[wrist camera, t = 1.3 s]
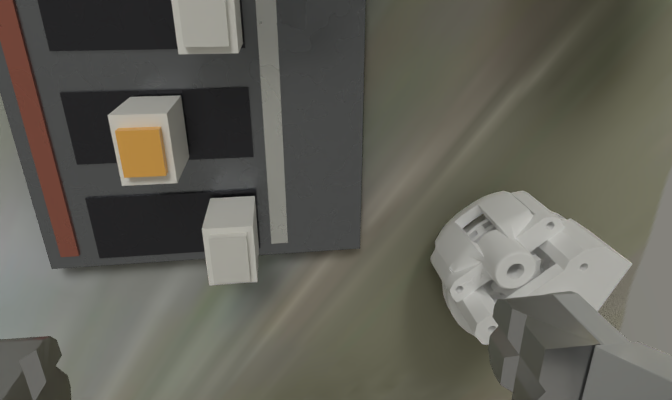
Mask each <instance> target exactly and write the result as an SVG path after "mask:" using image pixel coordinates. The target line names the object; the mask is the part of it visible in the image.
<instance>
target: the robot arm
mask: <svg viewBox="0 0 672 400" xmlns="http://www.w3.org/2000/svg"><path fill="white" fill-rule="evenodd" d="M493 318H494V320H495V321H496V323H497V324H498V327H497V328H496V329H495V330H494V331H493V333H492V334H491V335H490V338H489V348H488V351H489V358H490V364H491V367H492V370H493V372H494V375H495V377H496V378H497V380H498V382H499V383H500V385H502V386H503V387H505V388H507V389H508V390H510V391H511V392H513V395H512V400H672V355H669V354H667V353H665V352H662V351H660V350H658V349H655V348H653V347H650V346H648V345H646V344H643V343H641V342H630V341H629V340H627V338H625V337H624V336H623V335H622V334H621V333H620V332H619V331H618V330H617V329H616V328H615V327H614V326H612V325H611V324H610V323H609V322H608V321H607V320H606V319H605V318H604V317H603V316H602V315H601V314H600V313H598V312H597V311H596V310H595V309H594V308H593V307H592V306H591V305H590V304H589V303H588V302H587V301H586V300H584V299H583V298H582V297H581V296H580V295H579V294H578V293H575V292H572V291H566V292H557V293H548V294H546V295H536V296H525V297H514V298H504V299H497V301H496V303H495V305H494V310H493ZM61 356H62V354H61V351H60V348H59V345H58V342H57V340H56V339H54V338H52V337H51V336H46V337H30V338H15V339H0V400H71V386H70V383H69V379H68V375H67V374H65V373H64V372H63V371H61V370H60V369H59V368H57V367H56V364H57V363H58V361H59V359H60V358H61Z"/></svg>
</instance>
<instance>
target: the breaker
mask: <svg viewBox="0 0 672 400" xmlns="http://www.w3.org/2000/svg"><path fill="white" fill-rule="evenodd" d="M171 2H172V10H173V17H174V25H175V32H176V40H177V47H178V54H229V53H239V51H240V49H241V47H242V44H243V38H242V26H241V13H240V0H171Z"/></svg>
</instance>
